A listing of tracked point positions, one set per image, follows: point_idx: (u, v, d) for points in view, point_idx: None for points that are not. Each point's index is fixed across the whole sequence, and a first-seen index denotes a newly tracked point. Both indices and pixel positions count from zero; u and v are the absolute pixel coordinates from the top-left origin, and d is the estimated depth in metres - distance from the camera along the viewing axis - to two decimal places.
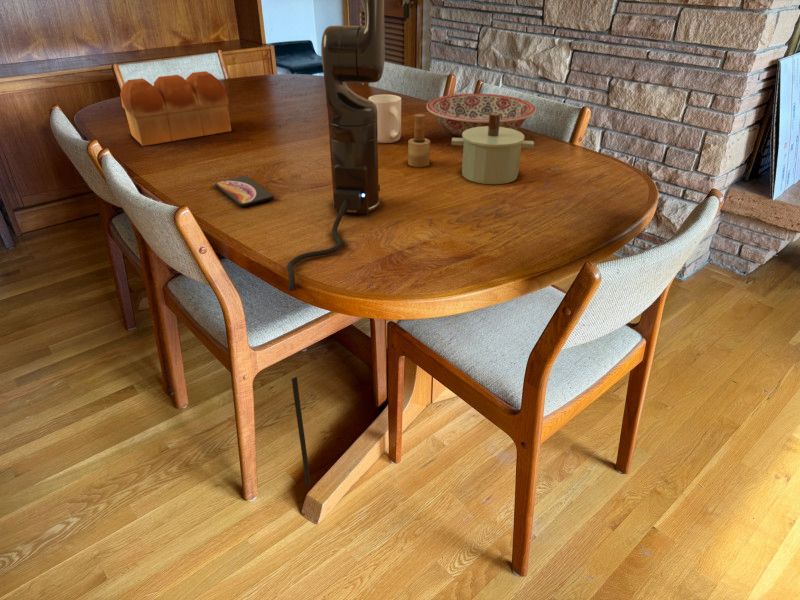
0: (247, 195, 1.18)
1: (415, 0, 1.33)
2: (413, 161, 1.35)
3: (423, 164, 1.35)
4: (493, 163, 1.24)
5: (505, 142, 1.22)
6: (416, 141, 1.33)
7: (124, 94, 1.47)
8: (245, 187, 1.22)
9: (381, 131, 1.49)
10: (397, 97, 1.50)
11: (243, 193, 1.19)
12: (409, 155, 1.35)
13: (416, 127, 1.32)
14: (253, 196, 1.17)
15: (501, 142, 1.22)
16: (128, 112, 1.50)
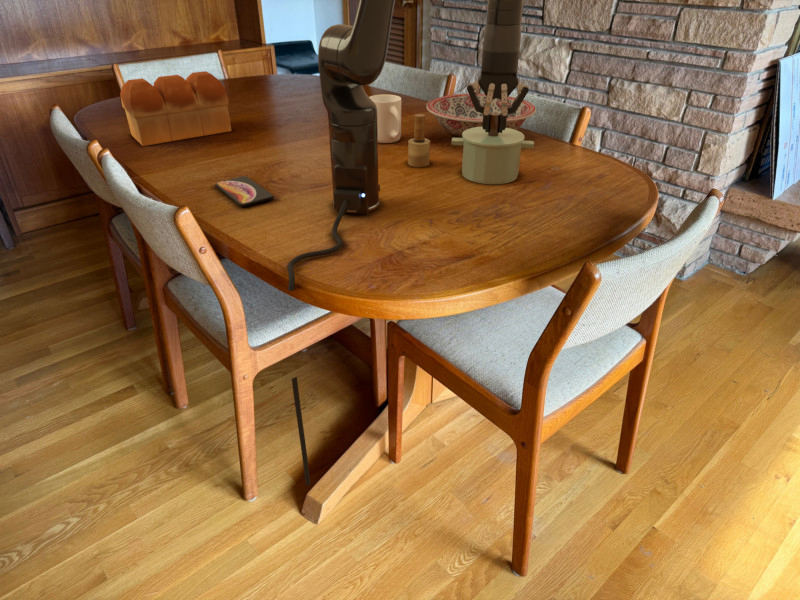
0: (247, 195, 1.18)
1: None
2: (413, 161, 1.35)
3: (423, 164, 1.35)
4: (493, 163, 1.24)
5: (505, 142, 1.22)
6: (416, 141, 1.33)
7: (124, 94, 1.47)
8: (245, 187, 1.22)
9: (381, 131, 1.49)
10: (397, 97, 1.50)
11: (243, 193, 1.19)
12: (409, 155, 1.35)
13: (416, 127, 1.32)
14: (253, 196, 1.17)
15: (501, 142, 1.22)
16: (128, 112, 1.50)
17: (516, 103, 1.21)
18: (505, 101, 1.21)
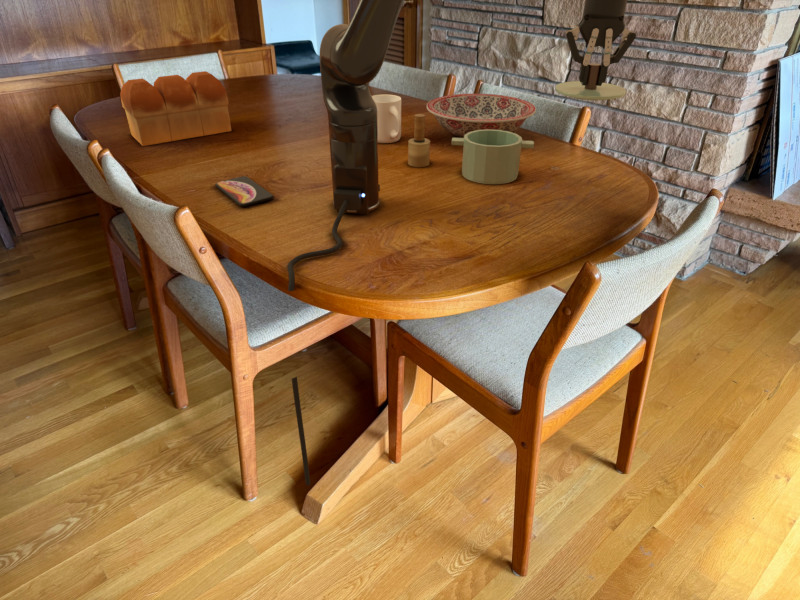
0: (247, 195, 1.18)
1: (615, 62, 1.11)
2: (413, 161, 1.35)
3: (423, 164, 1.35)
4: (493, 163, 1.24)
5: (608, 94, 1.11)
6: (416, 141, 1.33)
7: (124, 94, 1.47)
8: (245, 187, 1.22)
9: (381, 131, 1.49)
10: (397, 97, 1.50)
11: (243, 193, 1.19)
12: (409, 155, 1.35)
13: (416, 127, 1.32)
14: (253, 196, 1.17)
15: (604, 95, 1.10)
16: (128, 112, 1.50)
17: (620, 51, 1.10)
18: (609, 49, 1.10)
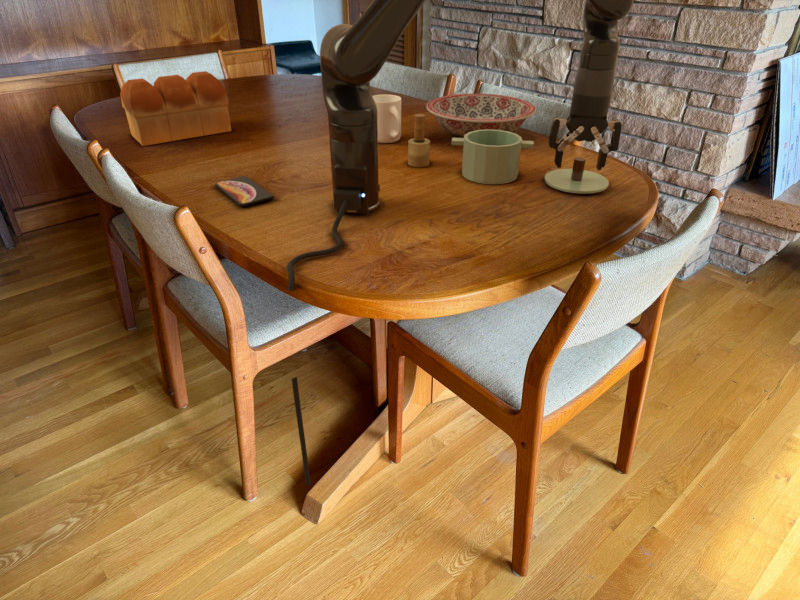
0: (247, 195, 1.18)
1: (615, 150, 1.20)
2: (413, 161, 1.35)
3: (423, 164, 1.35)
4: (493, 163, 1.24)
5: (592, 188, 1.21)
6: (416, 141, 1.33)
7: (124, 94, 1.47)
8: (245, 187, 1.22)
9: (381, 131, 1.49)
10: (397, 97, 1.50)
11: (243, 193, 1.19)
12: (409, 155, 1.35)
13: (416, 127, 1.32)
14: (253, 196, 1.17)
15: (588, 189, 1.21)
16: (128, 112, 1.50)
17: (615, 140, 1.19)
18: (601, 140, 1.19)
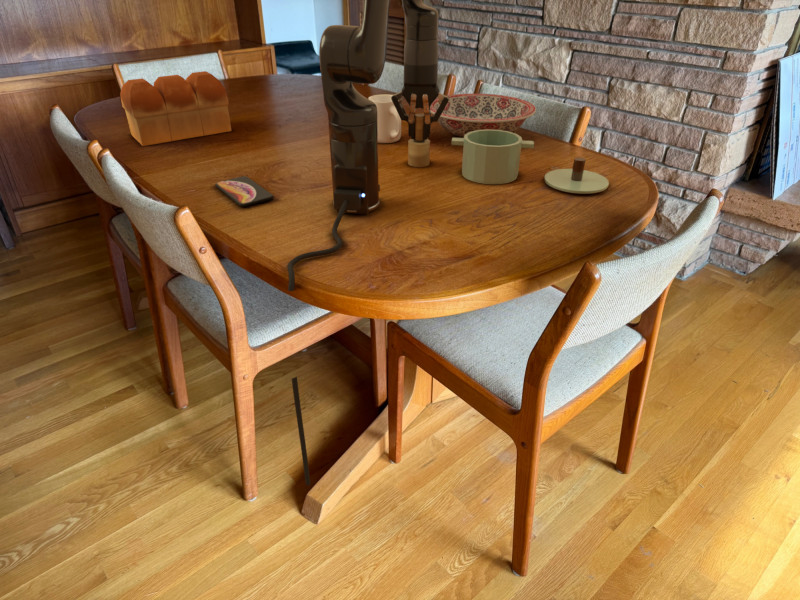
0: (247, 195, 1.18)
1: (435, 121, 1.30)
2: (413, 161, 1.35)
3: (423, 164, 1.35)
4: (493, 163, 1.24)
5: (592, 188, 1.21)
6: (416, 141, 1.33)
7: (124, 94, 1.47)
8: (245, 187, 1.22)
9: (381, 131, 1.49)
10: None
11: (243, 193, 1.19)
12: (409, 155, 1.35)
13: (416, 127, 1.32)
14: (253, 196, 1.17)
15: (588, 189, 1.21)
16: (128, 112, 1.50)
17: (437, 112, 1.29)
18: (427, 110, 1.29)
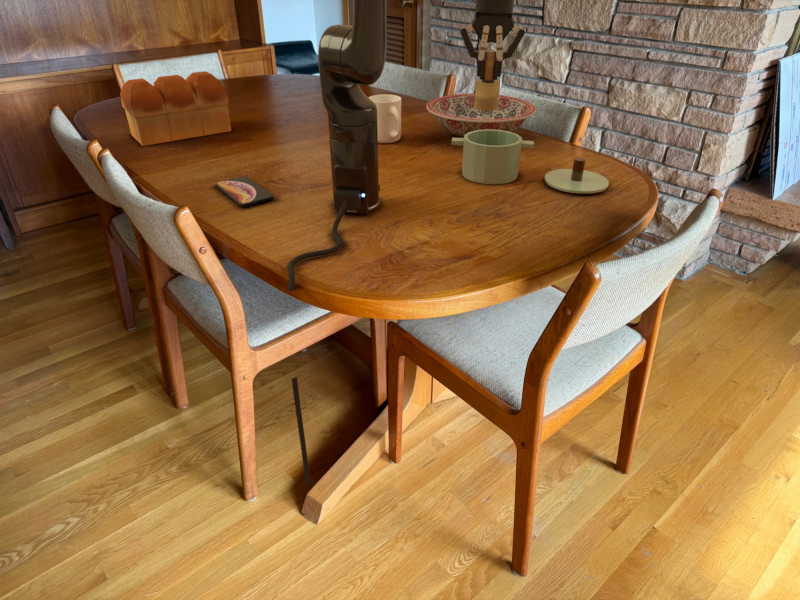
0: (247, 195, 1.18)
1: None
2: (481, 104, 1.22)
3: (492, 108, 1.22)
4: (493, 163, 1.24)
5: (592, 188, 1.21)
6: (485, 81, 1.20)
7: (124, 94, 1.47)
8: (245, 187, 1.22)
9: (381, 131, 1.49)
10: (397, 97, 1.50)
11: (243, 193, 1.19)
12: (476, 97, 1.22)
13: (486, 65, 1.19)
14: (253, 196, 1.17)
15: (588, 189, 1.21)
16: (128, 112, 1.50)
17: (512, 47, 1.16)
18: (500, 45, 1.16)
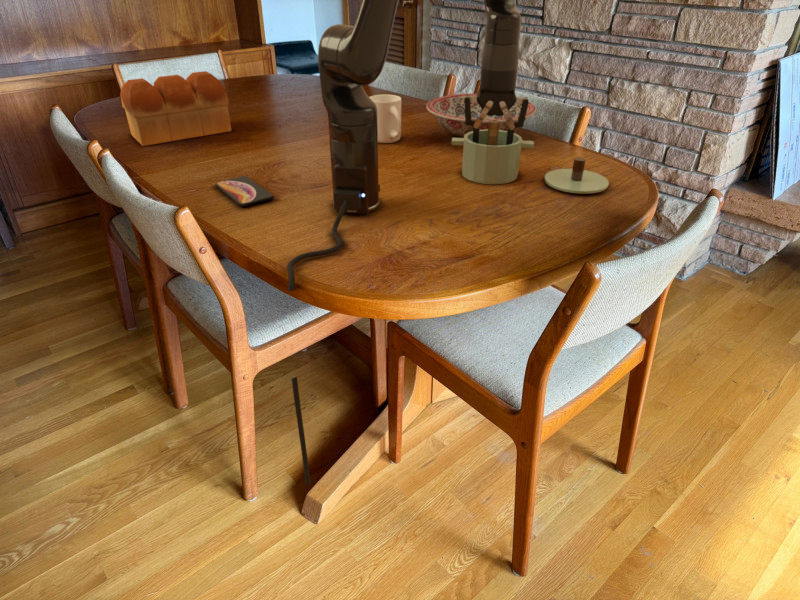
0: (247, 195, 1.18)
1: (520, 127, 1.24)
2: None
3: None
4: (493, 163, 1.24)
5: (592, 188, 1.21)
6: None
7: (124, 94, 1.47)
8: (245, 187, 1.22)
9: (381, 131, 1.49)
10: (397, 97, 1.50)
11: (243, 193, 1.19)
12: None
13: (489, 134, 1.26)
14: (253, 196, 1.17)
15: (588, 189, 1.21)
16: (128, 112, 1.50)
17: (521, 117, 1.23)
18: (508, 116, 1.22)
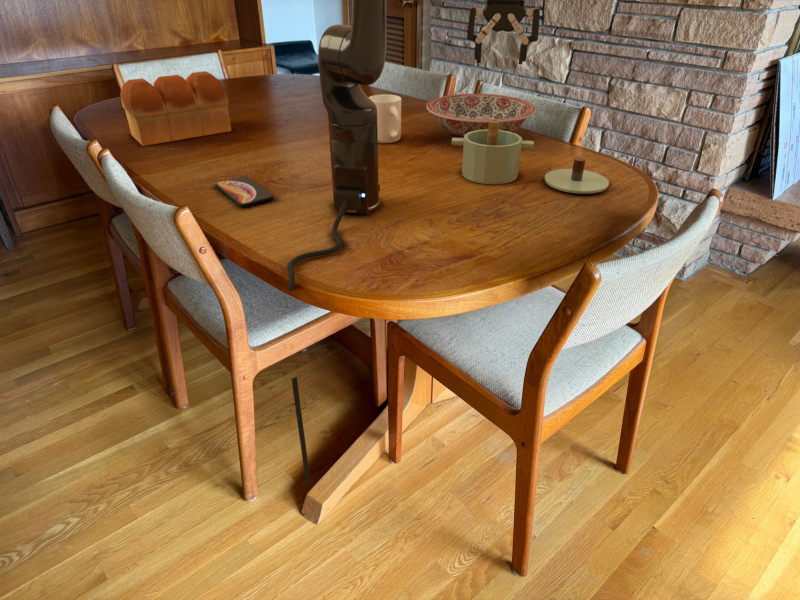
0: (247, 195, 1.18)
1: (535, 41, 1.14)
2: None
3: None
4: (493, 163, 1.24)
5: (592, 188, 1.21)
6: None
7: (124, 94, 1.47)
8: (245, 187, 1.22)
9: (381, 131, 1.49)
10: (397, 97, 1.50)
11: (243, 193, 1.19)
12: None
13: (489, 134, 1.26)
14: (253, 196, 1.17)
15: (588, 189, 1.21)
16: (128, 112, 1.50)
17: (534, 29, 1.13)
18: (519, 29, 1.13)
